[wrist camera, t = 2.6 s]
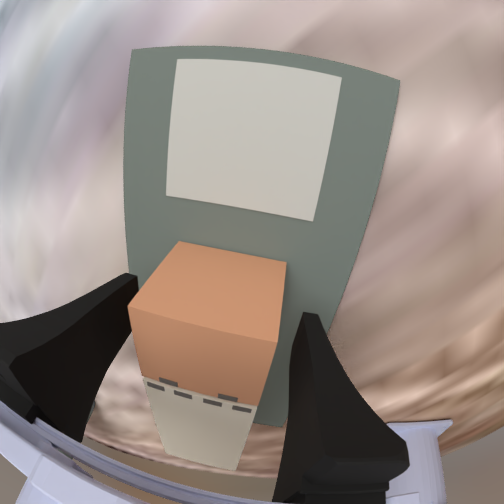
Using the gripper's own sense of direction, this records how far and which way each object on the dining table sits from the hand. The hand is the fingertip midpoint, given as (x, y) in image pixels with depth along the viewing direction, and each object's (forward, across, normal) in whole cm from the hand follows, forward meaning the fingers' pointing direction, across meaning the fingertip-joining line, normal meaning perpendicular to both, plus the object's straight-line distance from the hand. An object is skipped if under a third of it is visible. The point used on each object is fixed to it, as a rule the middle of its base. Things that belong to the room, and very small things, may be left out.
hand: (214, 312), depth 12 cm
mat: (+3, 0, +2) cm, 3 cm away
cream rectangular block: (+3, 0, +8) cm, 8 cm away
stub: (+3, 0, 0) cm, 3 cm away
